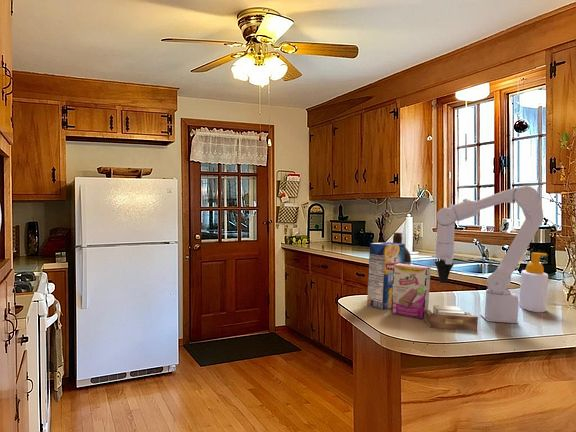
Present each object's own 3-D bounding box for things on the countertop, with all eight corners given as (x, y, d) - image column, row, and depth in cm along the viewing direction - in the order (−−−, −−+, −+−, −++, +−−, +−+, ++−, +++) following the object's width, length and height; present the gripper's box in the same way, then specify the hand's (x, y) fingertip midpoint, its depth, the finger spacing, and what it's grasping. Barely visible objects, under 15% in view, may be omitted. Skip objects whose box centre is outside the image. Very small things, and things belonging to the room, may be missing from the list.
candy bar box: (390, 314, 156) (392, 264, 155) (395, 311, 160) (397, 262, 160) (424, 319, 150) (427, 268, 150) (428, 316, 155) (431, 266, 154)
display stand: (468, 322, 149) (469, 309, 149) (477, 330, 140) (478, 317, 140) (424, 319, 151) (425, 306, 151) (430, 327, 141) (431, 314, 141)
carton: (456, 320, 151) (457, 306, 151) (464, 328, 142) (464, 313, 142) (432, 319, 152) (433, 305, 152) (438, 326, 143) (439, 311, 143)
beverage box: (366, 305, 167) (369, 243, 166) (386, 301, 174) (389, 242, 173) (382, 309, 162) (385, 245, 161) (401, 305, 169) (405, 244, 168)
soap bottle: (550, 313, 166) (554, 255, 165) (525, 311, 167) (529, 254, 166) (538, 305, 178) (542, 251, 178) (515, 303, 180) (518, 250, 179)
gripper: (429, 240, 169) (427, 278, 170) (437, 244, 155) (435, 285, 156) (449, 241, 169) (447, 279, 169) (459, 245, 154) (457, 286, 155)
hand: (442, 282), depth 162 cm, fingers closed
